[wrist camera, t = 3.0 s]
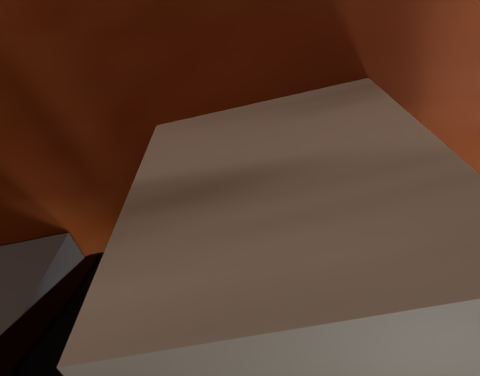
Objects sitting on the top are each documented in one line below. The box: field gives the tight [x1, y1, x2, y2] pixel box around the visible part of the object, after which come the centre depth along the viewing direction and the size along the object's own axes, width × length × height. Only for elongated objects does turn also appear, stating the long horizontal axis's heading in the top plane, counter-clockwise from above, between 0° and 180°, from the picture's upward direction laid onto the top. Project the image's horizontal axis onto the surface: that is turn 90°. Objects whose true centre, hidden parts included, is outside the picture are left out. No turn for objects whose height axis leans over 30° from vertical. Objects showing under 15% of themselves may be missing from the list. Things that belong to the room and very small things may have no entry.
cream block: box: [57, 78, 480, 376], centre depth 7 cm, size 5×5×6 cm
